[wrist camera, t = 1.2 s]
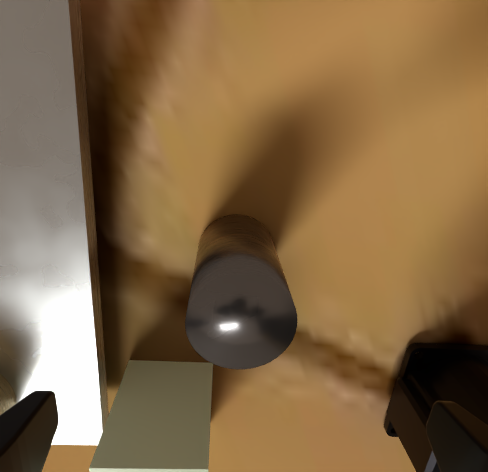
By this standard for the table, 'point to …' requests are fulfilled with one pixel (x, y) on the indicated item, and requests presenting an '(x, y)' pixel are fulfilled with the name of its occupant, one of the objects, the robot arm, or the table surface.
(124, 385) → the green block
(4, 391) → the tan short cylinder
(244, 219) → the black peg
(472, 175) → the table surface
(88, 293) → the grey flat plate
